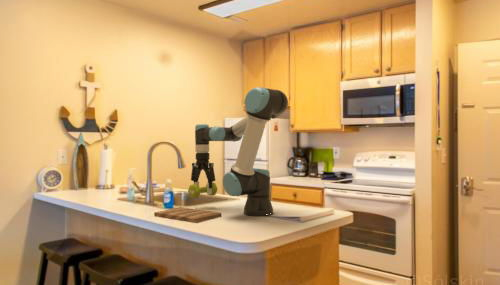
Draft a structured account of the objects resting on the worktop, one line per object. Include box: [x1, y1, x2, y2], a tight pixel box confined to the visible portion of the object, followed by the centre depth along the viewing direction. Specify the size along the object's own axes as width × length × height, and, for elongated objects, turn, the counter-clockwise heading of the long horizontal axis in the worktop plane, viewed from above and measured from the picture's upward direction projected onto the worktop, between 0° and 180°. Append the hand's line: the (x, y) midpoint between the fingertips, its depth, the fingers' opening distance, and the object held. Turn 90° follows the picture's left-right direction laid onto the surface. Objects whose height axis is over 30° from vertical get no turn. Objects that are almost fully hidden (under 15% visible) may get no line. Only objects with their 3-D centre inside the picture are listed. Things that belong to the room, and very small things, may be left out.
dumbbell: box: [187, 182, 218, 199], centre depth 202 cm, size 16×8×7 cm, turn 139°
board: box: [153, 206, 222, 224], centre depth 183 cm, size 28×18×2 cm, turn 56°
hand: (203, 194), depth 202 cm, fingers closed on dumbbell, 8 cm apart
